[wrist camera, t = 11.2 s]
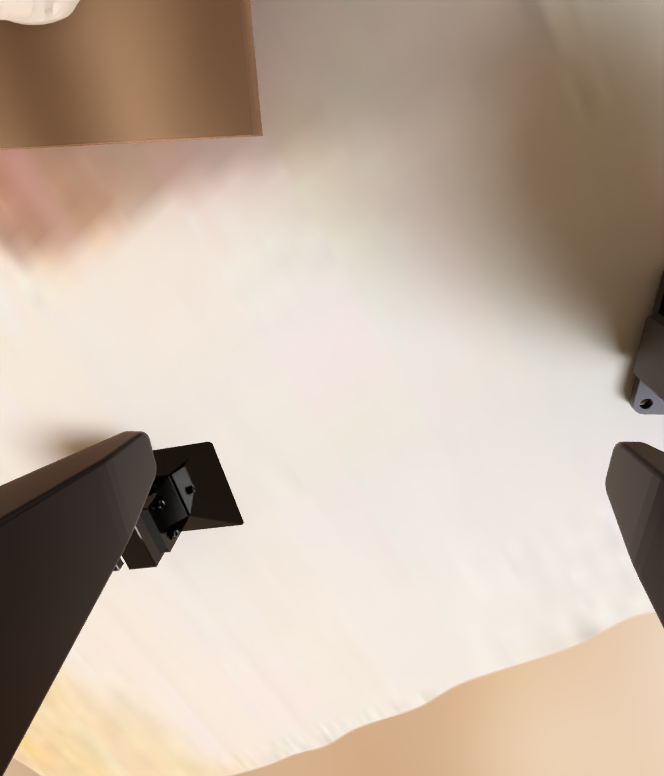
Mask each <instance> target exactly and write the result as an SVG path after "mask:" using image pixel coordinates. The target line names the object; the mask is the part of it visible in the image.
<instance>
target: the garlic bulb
mask: <svg viewBox="0 0 664 776" xmlns="http://www.w3.org/2000/svg"><path fill="white" fill-rule="evenodd" d="M79 1H80V0H0V20H9V21H11V22H14V23H18V24H24V25H43V24H48V23H54V22H56V21H59V20H61V19H64V18H66V17H68V16H69V15H70V14H71V13H72V12H73V10H74V9H75V7H76V5H77V4H78V2H79Z"/></svg>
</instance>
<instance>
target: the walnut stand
mask: <svg viewBox="0 0 664 776" xmlns="http://www.w3.org/2000/svg"><path fill="white" fill-rule="evenodd" d="M250 136H263V135H262V125H261V114H260V104H259V93H258V83H257V72H256V62H255V51H254V41H253V30H252V20H251V9H250V0H80V1H79V2H78V4H77V5H76V7H75V9H74V10H73V12H72V13H71V14H70V15H69V16H68V17H66V18H64V19H61V20H59V21H56V22H54V23H48V24H43V25H24V24H18V23H14V22H11V21H9V20H0V150H8V149H27V148H46V147H64V146H83V145H101V144H120V143H138V142H157V141H176V140H194V139H213V138H231V137H250Z"/></svg>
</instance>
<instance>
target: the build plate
mask: <svg viewBox="0 0 664 776" xmlns="http://www.w3.org/2000/svg"><path fill="white" fill-rule="evenodd" d="M153 455H154V459H155V463H156V475H155V479H154V481H153V483H152V486H151V488H150V491H149V493H148V496H147V498H146V501H145V503H144V506H143V508H142V511H141V513H140V516H139V518H138V520H137V523H136V525H135V528H134V530H133V532H132V535H131V537H130V539H129V541H128V543H127V545H126V547H125V549H124V551H123V553H122V557H123V559H124V560H125V562H126V564H127V566H128V567H129V569H140V568H150V567H157V565H158V563H159V561H160V560H161V558H162V556H163V554H164V553H165V552H170V551H171V549H172V547H173V546H174V544H175V542H176V540H177V538H178V537H179V535H180V533H181V531H190V530H199V529H208V528H217V527H226V526H235V525H242V524H243V523H244V522H243V519H242V517H241V514H240V512H239V509H238V507H237V504H236V502H235V499H234V497H233V494H232V492H231V489H230V487H229V484H228V482H227V479H226V477H225V474H224V472H223V469H222V467H221V464H220V462H219V459H218V457H217V454H216V451H215V449H214V446H213V444H212V443H211V442H203V443H197V444H191V445H184V446H178V447H172V448H165V449H159V450H153ZM123 564H124V563H123V562H122V560H121V558H120V559H119V561H118V562H117V564H116V566H115V568H114V570H113V571H119V570H120V569H121V567H122V565H123Z"/></svg>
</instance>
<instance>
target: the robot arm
mask: <svg viewBox="0 0 664 776" xmlns="http://www.w3.org/2000/svg"><path fill="white" fill-rule="evenodd" d="M633 373H634V374H635V375H636V377H635V381H634V385H633V389H632V392H631V396H630V405H631V407H632V408H633V409H634V410H635V411H636V412H638V413H640V414H664V271H663V275H662V278H661V282H660V286H659V290H658V294H657V297H656V301H655V305H654V309H653V312H652V313H651V314H650V315H649V316H648V317H647V320H646V323H645V327H644V331H643V335H642V339H641V343H640V347H639V350H638V354H637V358H636V362H635V366H634V370H633ZM644 399H648V401H647V402H646V403H645V404H642V405H640V403H641V401H642V400H644ZM155 475H156V463H155V459H154V455H153V451H152V447H151V443H150V439H149V436H148V435H147V434H146V433H145V432H141V431H126V432H123V433H120V434H118V435H116V436H113V437H111V438H109V439H107V440H104V441H102V442H100V443H97V444H95V445H93V446H91V447H88V448H86V449H84V450H81V451H79V452H77V453H75V454H72V455H70V456H68V457H65V458H63V459H61V460H58V461H56V462H54V463H52V464H49V465H47V466H45V467H42V468H40V469H38V470H36V471H33V472H31V473H29V474H26V475H24V476H22V477H20V478H17V479H15V480H13V481H10V482H8V483H6V484H4V485H1V486H0V776H3V774H4V773H5V771H6V769H7V767H8V765H9V763H10V761H11V760H12V758H13V756H14V754H15V752H16V750H17V748H18V747H19V745H20V743H21V741H22V739H23V737H24V735H25V734H26V732H27V730H28V728H29V726H30V724H31V722H32V720H33V719H34V717H35V715H36V713H37V711H38V709H39V707H40V706H41V704H42V702H43V700H44V698H45V696H46V694H47V693H48V691H49V689H50V687H51V685H52V683H53V681H54V680H55V678H56V676H57V674H58V672H59V670H60V668H61V667H62V665H63V663H64V661H65V659H66V657H67V655H68V654H69V652H70V650H71V648H72V646H73V644H74V642H75V640H76V639H77V637H78V635H79V633H80V631H81V629H82V627H83V626H84V624H85V622H86V620H87V618H88V616H89V614H90V613H91V611H92V609H93V607H94V605H95V603H96V601H97V600H98V598H99V596H100V594H101V592H102V590H103V588H104V587H105V585H106V583H107V581H108V579H109V577H110V575H111V574H112V572H113V570H114V568H115V566H116V564H117V562H118V561H119V559H120V557H121V555H122V553H123V551H124V549H125V547H126V545H127V543H128V541H129V539H130V537H131V535H132V532H133V530H134V528H135V525H136V523H137V520H138V518H139V516H140V513H141V511H142V508H143V506H144V503H145V501H146V498H147V496H148V493H149V491H150V488H151V486H152V483H153V481H154V479H155ZM605 485H606V491H607V495H608V497H609V500H610V503H611V506H612V509H613V511H614V514H615V517H616V520H617V523H618V525H619V528H620V531H621V534H622V537H623V540H624V542H625V545H626V548H627V551H628V554H629V556H630V559H631V561H632V564H633V566H634V568H635V570H636V573H637V575H638V577H639V579H640V581H641V583H642V585H643V587H644V589H645V591H646V593H647V595H648V597H649V599H650V601H651V603H652V605H653V607H654V609H655V611H656V613H657V615H658V617H659V619H660V622H661V623H662V626H663V628H664V452H663V451H660V450H658V449H656V448H654V447H652V446H650V445H648V444H645V443H642V442H619V443H617V444H616V445H615V447H614V449H613V453H612V456H611V460H610V464H609V468H608V472H607V476H606V482H605Z"/></svg>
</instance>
